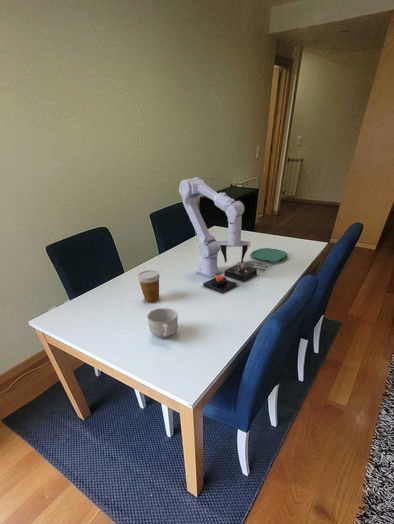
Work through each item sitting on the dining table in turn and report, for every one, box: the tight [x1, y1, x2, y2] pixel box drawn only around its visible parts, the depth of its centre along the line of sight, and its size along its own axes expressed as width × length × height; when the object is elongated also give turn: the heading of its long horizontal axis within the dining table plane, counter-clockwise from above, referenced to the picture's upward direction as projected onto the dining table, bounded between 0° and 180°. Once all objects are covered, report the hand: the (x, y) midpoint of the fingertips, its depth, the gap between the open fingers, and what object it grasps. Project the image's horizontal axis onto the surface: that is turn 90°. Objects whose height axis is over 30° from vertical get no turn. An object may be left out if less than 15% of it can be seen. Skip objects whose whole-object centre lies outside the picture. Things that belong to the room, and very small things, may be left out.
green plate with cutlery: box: [244, 247, 288, 272], centre depth 161 cm, size 20×30×2 cm, turn 141°
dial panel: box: [223, 264, 258, 283], centre depth 146 cm, size 12×11×3 cm
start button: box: [215, 274, 225, 281], centre depth 136 cm, size 4×4×2 cm
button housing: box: [202, 276, 237, 294], centre depth 137 cm, size 12×10×4 cm
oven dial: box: [236, 260, 246, 271], centre depth 144 cm, size 4×4×4 cm
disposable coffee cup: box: [136, 269, 161, 304], centre depth 127 cm, size 10×10×12 cm
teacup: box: [146, 307, 179, 338], centre depth 105 cm, size 14×11×8 cm
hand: (233, 261), depth 139 cm, fingers open, 7 cm apart
